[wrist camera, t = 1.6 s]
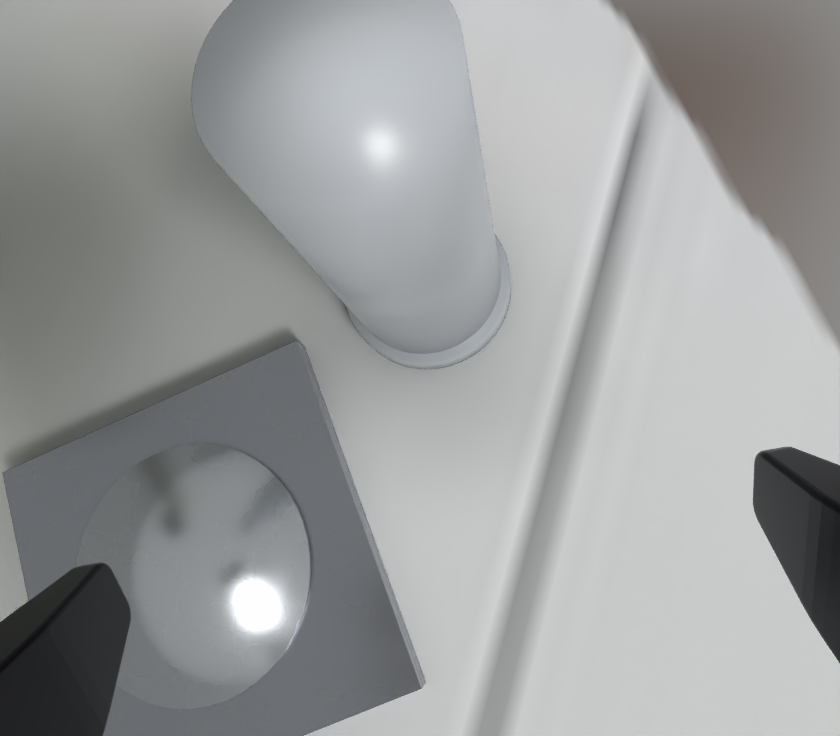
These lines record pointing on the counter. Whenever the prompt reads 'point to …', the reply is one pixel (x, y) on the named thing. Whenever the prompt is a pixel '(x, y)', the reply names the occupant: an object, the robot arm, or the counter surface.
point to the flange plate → (225, 558)
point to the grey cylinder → (363, 161)
